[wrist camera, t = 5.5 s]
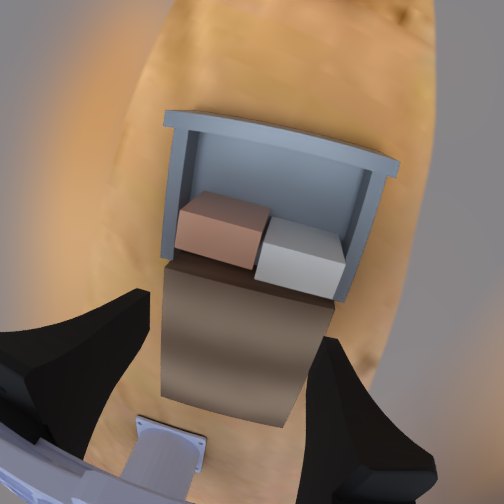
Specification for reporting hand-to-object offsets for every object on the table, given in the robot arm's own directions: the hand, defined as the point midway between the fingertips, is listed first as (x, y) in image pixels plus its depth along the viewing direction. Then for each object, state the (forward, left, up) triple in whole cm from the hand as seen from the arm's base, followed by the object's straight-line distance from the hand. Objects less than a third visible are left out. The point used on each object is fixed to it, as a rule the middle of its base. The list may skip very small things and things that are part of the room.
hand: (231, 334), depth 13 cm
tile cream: (+1, -2, -6) cm, 6 cm away
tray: (+3, 0, -8) cm, 9 cm away
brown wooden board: (-7, 0, -8) cm, 11 cm away
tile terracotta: (+1, +2, -6) cm, 6 cm away
